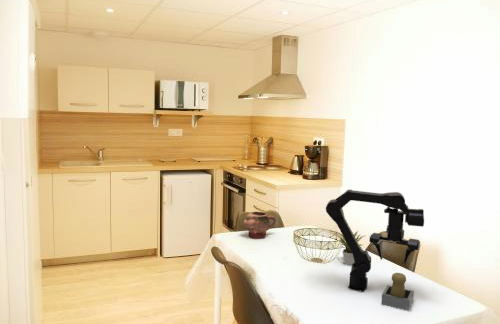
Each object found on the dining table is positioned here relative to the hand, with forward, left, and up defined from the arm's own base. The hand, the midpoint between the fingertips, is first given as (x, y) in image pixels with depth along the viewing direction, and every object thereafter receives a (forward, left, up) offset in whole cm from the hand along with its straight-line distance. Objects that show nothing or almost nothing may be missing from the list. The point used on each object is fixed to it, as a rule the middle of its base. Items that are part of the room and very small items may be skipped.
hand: (393, 261), depth 167 cm
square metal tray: (+4, -8, -13) cm, 16 cm away
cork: (+4, -9, -13) cm, 16 cm away
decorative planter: (-82, +38, -13) cm, 91 cm away
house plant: (-23, +24, -13) cm, 36 cm away
